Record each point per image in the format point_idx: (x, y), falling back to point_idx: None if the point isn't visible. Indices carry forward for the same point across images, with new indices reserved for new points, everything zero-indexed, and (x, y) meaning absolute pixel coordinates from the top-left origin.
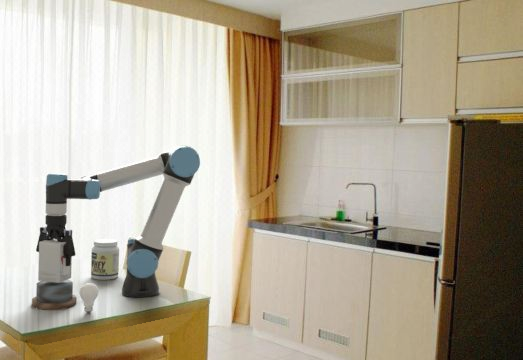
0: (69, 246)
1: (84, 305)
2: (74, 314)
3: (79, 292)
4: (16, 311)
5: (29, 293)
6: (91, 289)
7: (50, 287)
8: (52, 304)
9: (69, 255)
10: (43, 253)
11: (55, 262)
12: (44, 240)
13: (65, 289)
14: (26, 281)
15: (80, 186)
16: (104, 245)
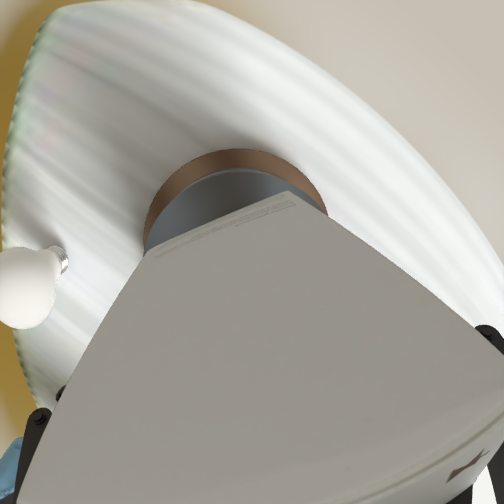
0: (17, 489)
1: (44, 249)
2: (70, 210)
3: (25, 254)
4: (261, 76)
5: (413, 258)
6: None
7: (174, 200)
8: (166, 186)
9: (38, 414)
10: (307, 294)
11: (132, 306)
12: (492, 458)
13: None
14: (478, 318)
15: None
16: None
